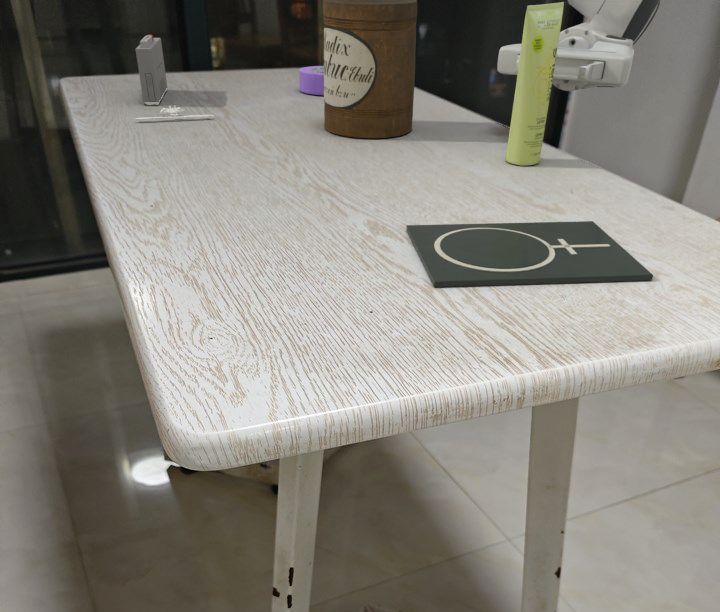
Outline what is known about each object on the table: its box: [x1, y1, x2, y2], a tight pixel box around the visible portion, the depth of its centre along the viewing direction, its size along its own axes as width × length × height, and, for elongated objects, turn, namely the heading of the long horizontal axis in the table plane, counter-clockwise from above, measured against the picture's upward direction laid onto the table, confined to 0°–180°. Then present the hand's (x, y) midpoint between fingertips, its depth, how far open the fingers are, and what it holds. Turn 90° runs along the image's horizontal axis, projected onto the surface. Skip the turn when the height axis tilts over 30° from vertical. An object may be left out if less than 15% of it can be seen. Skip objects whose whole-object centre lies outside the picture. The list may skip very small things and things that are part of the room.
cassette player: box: [134, 34, 168, 103], centre depth 134 cm, size 16×3×10 cm, turn 6°
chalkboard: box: [405, 220, 654, 288], centre depth 75 cm, size 22×16×1 cm
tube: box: [505, 1, 565, 166], centre depth 98 cm, size 6×5×20 cm
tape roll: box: [298, 65, 324, 96], centre depth 144 cm, size 12×12×4 cm
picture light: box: [135, 105, 216, 119], centre depth 122 cm, size 14×4×2 cm, turn 108°
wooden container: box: [322, 0, 418, 139], centre depth 112 cm, size 15×15×22 cm
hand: (551, 70), depth 103 cm, fingers open, 8 cm apart
